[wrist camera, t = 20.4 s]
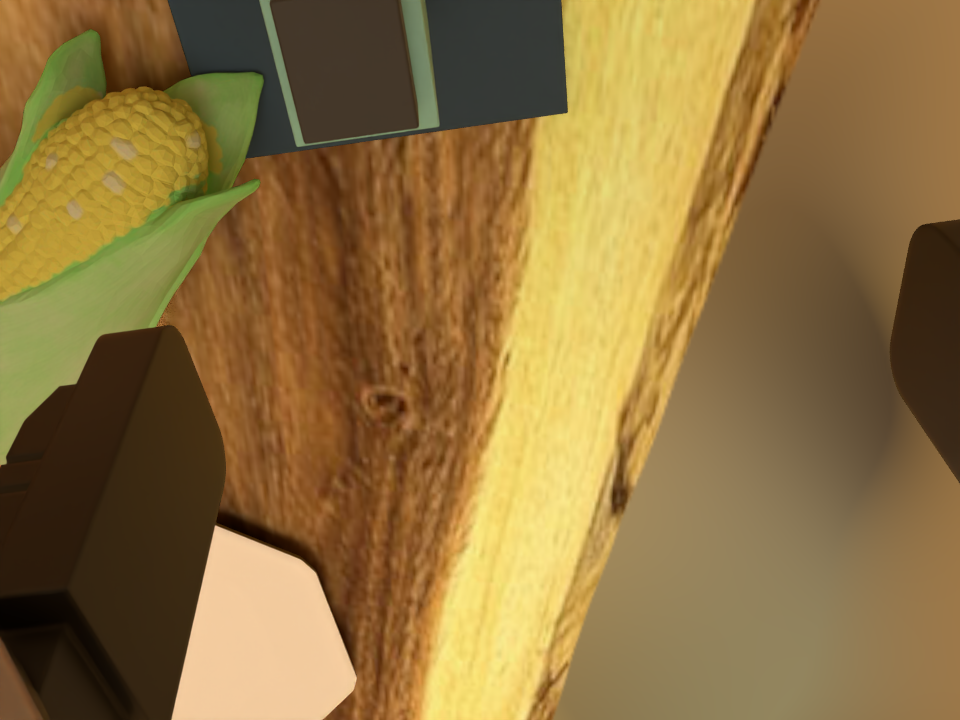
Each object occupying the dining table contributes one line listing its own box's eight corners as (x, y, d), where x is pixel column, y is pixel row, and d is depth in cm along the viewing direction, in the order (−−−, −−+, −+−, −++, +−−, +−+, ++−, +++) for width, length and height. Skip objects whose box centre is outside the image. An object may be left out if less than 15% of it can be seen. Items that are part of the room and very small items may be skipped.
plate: (-8, 795, 63) (-16, 817, 61) (-263, 525, 46) (-280, 547, 45) (386, 734, 62) (386, 755, 61) (273, 438, 45) (270, 458, 44)
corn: (-207, 381, 35) (17, -41, 27) (-24, 343, 43) (197, 1, 34) (-82, 544, 34) (190, 158, 26) (83, 476, 42) (337, 158, 33)
